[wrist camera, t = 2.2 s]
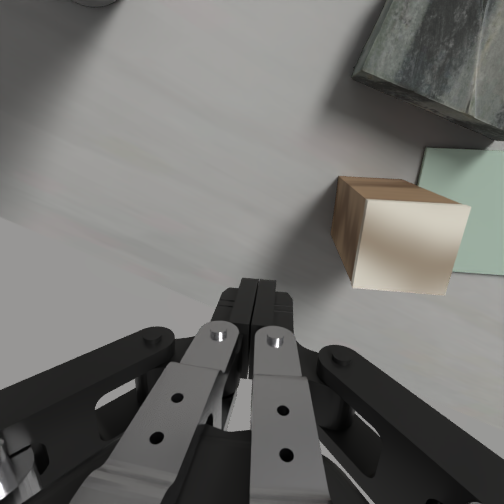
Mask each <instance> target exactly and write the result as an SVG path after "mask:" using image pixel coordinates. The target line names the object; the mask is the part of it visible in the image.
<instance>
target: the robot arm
mask: <svg viewBox="0 0 504 504" xmlns="http://www.w3.org/2000/svg"><path fill="white" fill-rule="evenodd" d="M72 1H74V2H76V3H79V4H81V5H84V6H90V7H100V6H106V5H108V4H110V3H113V2H115V1H116V0H72ZM258 285H259V286H258ZM275 289H276V281H275V280H263V279H260V281H259V279H251V278H242V280H241V283H240V286H239V288H228V289H227V290H225V291H224V292H223V293H222V295H221V297H220V300H219V302H218V304H217V307H216V309H215V312H214V314H213V317H212V319H211V322H209V323H206V324H204V325H203V326H202V327H201V328H200V329H199V331H198V333H197V334H196V336H194V337H189V338H181V339H175V337H174V333H173V332H172V331H171V330H170V329H168V328H165V327H149V328H145V329H143V330H140V331H138V332H136V333H133V334H131V335H129V336H126V337H124V338H121V339H119V340H117V341H115V342H112V343H110V344H107V345H105V346H103V347H101V348H98V349H96V350H93V351H91V352H89V353H86V354H84V355H82V356H79V357H77V358H75V359H73V360H70V361H68V362H66V363H63V364H61V365H58V366H56V367H54V368H51V369H49V370H46V371H44V372H42V373H39V374H37V375H35V376H32V377H30V378H28V379H25V380H23V381H21V382H18V383H16V384H14V385H11V386H9V387H7V388H4V389H2V390H0V504H369V502H368V501H367V500H366V499H365V497H364V496H363V495H362V494H361V493H360V492H359V490H358V489H357V488H356V486H355V485H354V484H353V483H352V482H351V480H350V479H349V478H348V477H347V476H346V474H345V473H344V472H343V471H342V470H341V469H340V468H339V467H338V466H337V465H336V464H335V463H333V462H332V461H331V460H330V459H328V458H327V457H325V456H323V455H322V454H321V448H320V443H319V440H320V441H321V442H322V444H323V445H324V446H325V447H326V448H327V449H328V450H329V452H330V453H331V454H332V455H333V456H334V457H335V458H336V460H337V461H338V462H339V463H340V464H341V465H342V466H343V468H344V469H345V470H346V471H347V472H348V473H349V474H350V476H352V478H353V479H354V480H355V481H356V482H357V484H358V485H359V486H360V487H361V488H362V489H363V490H364V491H365V493H366V494H367V495H368V496H369V497H370V499H371V500H372V501H373V502H374V503H375V504H504V459H502V458H501V457H499V456H498V455H497V454H495V453H494V452H493V451H491V450H490V449H488V448H487V447H486V446H484V445H483V444H482V443H480V442H479V441H477V440H476V439H475V438H473V437H472V436H470V435H469V434H468V433H467V432H465V431H464V430H462V429H461V428H460V427H458V426H457V425H456V424H454V423H453V422H451V421H450V420H448V419H447V418H446V417H445V416H443V415H441V414H440V413H439V412H438V411H436V410H435V409H434V408H432V407H431V406H429V405H428V404H427V403H425V402H424V401H423V400H421V399H420V398H418V397H417V396H416V395H414V394H413V393H412V392H410V391H409V390H408V389H406V388H405V387H403V386H402V385H401V384H399V383H398V382H397V381H395V380H394V379H392V378H391V377H390V376H388V375H387V374H386V373H384V372H383V371H381V370H380V369H379V368H377V367H376V366H375V365H373V364H372V363H370V362H369V361H368V360H366V359H365V358H364V357H362V356H361V355H359V354H358V353H357V352H355V351H354V350H352V349H350V348H347V347H344V346H340V345H329V346H326V347H324V348H322V349H321V350H320V351H319V353H317V352H314V351H311V350H309V349H306V348H304V347H303V346H301V345H300V344H299V343H298V342H297V341H296V338H295V336H294V330H293V301H292V298H291V297H290V295H289V294H288V293H286V292H275ZM248 368H249V379H252V396H251V420H250V430H246V431H235V432H227V428H228V424H229V421H230V417H231V414H232V410H233V407H234V404H235V400H236V396H237V388H238V386H239V381H240V378H244V379H247V374H248ZM133 379H135V383H136V388H134V389H133V390H131V391H129V392H127V393H126V394H124V395H122V396H120V397H118V398H117V399H115V400H113V401H111V402H109V403H107V404H106V405H104V406H102V407H100V408H98V409H97V410H95V406H96V403H97V402H98V400H99V399H100V398H101V397H102V396H103V395H105V394H107V393H108V392H110V391H112V390H114V389H116V388H118V387H120V386H121V385H123V384H125V383H127V382H129V381H131V380H133ZM355 411H356V412H357V413H358V414H360V415H361V416H362V417H363V418H364V419H365V420H366V421H367V422H368V423H370V424H371V425H372V426H373V427H374V428H375V429H376V431H377V432H378V434H379V435H380V437H381V438H380V437H379V436H378V435H377V434H376V433H375V432H374V431H373V430H372V429H371V428H370V427H369V426H368V425H366V424H365V423H364V422H363V421H362V420H361V419H360V418H359V417H358V416H357V415H356V414H355Z"/></svg>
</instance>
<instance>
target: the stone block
mask: <svg viewBox="0 0 504 504" xmlns="http://www.w3.org/2000/svg"><path fill="white" fill-rule="evenodd" d="M351 78H352V79H354V80H356V81H358V82H361V83H363V84H365V85H367V86H370V87H372V88H374V89H377V90H379V91H381V92H384V93H386V94H388V95H391V96H393V97H395V98H398V99H400V100H402V101H405V102H407V103H410V104H412V105H415V106H417V107H420V108H422V109H425V110H427V111H430V112H432V113H434V114H436V115H438V116H441V117H443V118H445V119H447V120H449V121H452V122H454V123H456V124H458V125H461V126H463V127H466V128H469V129H471V130H473V131H476V132H478V133H480V134H482V135H484V136H486V137H488V138H491V139H493V140H496V141H504V0H386V3H385V5H384V8H383V10H382V12H381V14H380V16H379V18H378V21H377V23H376V25H375V26H374V28H373V31H372V33H371V35H370V37H369V39H368V40H367V42H366V44H365V46H364V48H363V50H362V52H361V55H360V57H359V60H358V62H357V64H356V66H355V67H354V72H353V74H352V76H351Z"/></svg>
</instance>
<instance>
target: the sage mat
mask: <svg viewBox="0 0 504 504" xmlns="http://www.w3.org/2000/svg"><path fill="white" fill-rule="evenodd" d="M417 186H419V187H422V188H424V189H426V190H429V191H431V192H434V193H436V194H439V195H441V196H444V197H446V198H448V199H451V200H453V201H456V202H458V203H461V204H464V205H468V206H471V210H470V214H469V217H468V220H467V224H466V227H465V230H464V234H463V237H462V240H461V243H460V247H459V250H458V253H457V257H456V260H455V263H454V267H453V270H452V271H453V272H466V273H479V274H493V275H504V151H495V150H473V149H450V148H427V147H426V148H425V153H424V157H423V161H422V166H421V170H420V174H419V179H418V183H417Z"/></svg>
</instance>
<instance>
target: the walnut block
mask: <svg viewBox="0 0 504 504" xmlns="http://www.w3.org/2000/svg"><path fill="white" fill-rule="evenodd" d="M470 210H471V206H468V205H464V204H461V203H458V202H456V201H453V200H451V199H448V198H446V197H444V196H441V195H439V194H436V193H434V192H431V191H429V190H426V189H424V188H422V187H419V186H417V185H414V184H412V183H409V182H407V181H404V180H402V179H384V178H365V177H346V176H339V177H338V185H337V192H336V199H335V206H334V214H333V221H332V228H331V236H332V239H333V241H334V243H335V246H336V248H337V250H338V253H339V255H340V257H341V260H342V262H343V264H344V267H345V269H346V271H347V274H348V276H349V278H350V281H351V286H352V288H359V289H371V290H383V291H395V292H407V293H419V294H431V295H444V296H445V293H446V290H447V286H448V283H449V280H450V276H451V273H452V270H453V267H454V263H455V260H456V257H457V253H458V250H459V247H460V243H461V240H462V237H463V234H464V230H465V227H466V224H467V220H468V217H469V214H470Z"/></svg>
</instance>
